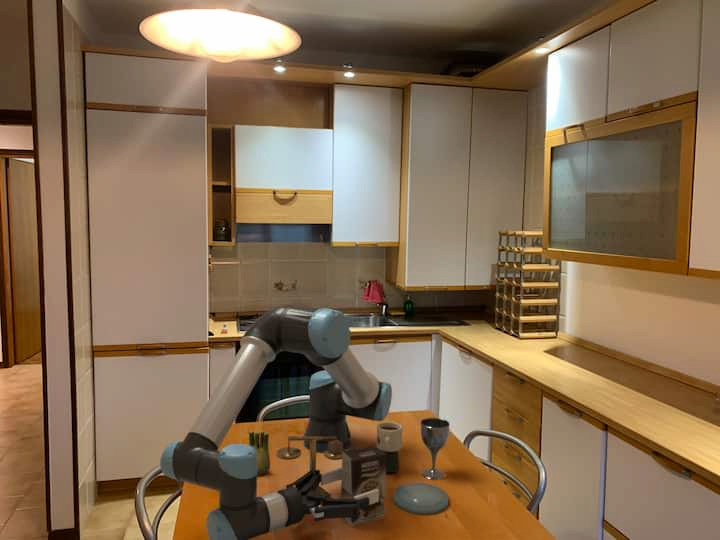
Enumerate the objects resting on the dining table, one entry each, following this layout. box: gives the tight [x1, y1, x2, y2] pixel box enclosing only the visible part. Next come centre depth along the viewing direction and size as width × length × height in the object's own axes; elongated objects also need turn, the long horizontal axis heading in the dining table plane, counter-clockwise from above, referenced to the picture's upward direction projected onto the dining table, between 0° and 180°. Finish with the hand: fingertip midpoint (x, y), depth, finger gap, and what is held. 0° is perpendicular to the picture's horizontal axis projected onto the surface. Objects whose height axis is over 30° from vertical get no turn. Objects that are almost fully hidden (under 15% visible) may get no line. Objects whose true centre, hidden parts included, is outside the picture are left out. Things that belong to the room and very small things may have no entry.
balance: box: [276, 435, 346, 504], centre depth 143 cm, size 8×20×18 cm, turn 126°
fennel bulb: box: [248, 430, 271, 476], centre depth 157 cm, size 6×5×12 cm
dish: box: [393, 482, 449, 516], centre depth 143 cm, size 14×14×1 cm
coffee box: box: [340, 444, 387, 527], centre depth 134 cm, size 9×6×16 cm
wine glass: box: [420, 417, 450, 481], centre depth 158 cm, size 8×8×15 cm
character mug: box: [376, 421, 403, 474], centre depth 160 cm, size 11×7×13 cm, turn 168°
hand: (360, 483), depth 133 cm, fingers open, 13 cm apart
